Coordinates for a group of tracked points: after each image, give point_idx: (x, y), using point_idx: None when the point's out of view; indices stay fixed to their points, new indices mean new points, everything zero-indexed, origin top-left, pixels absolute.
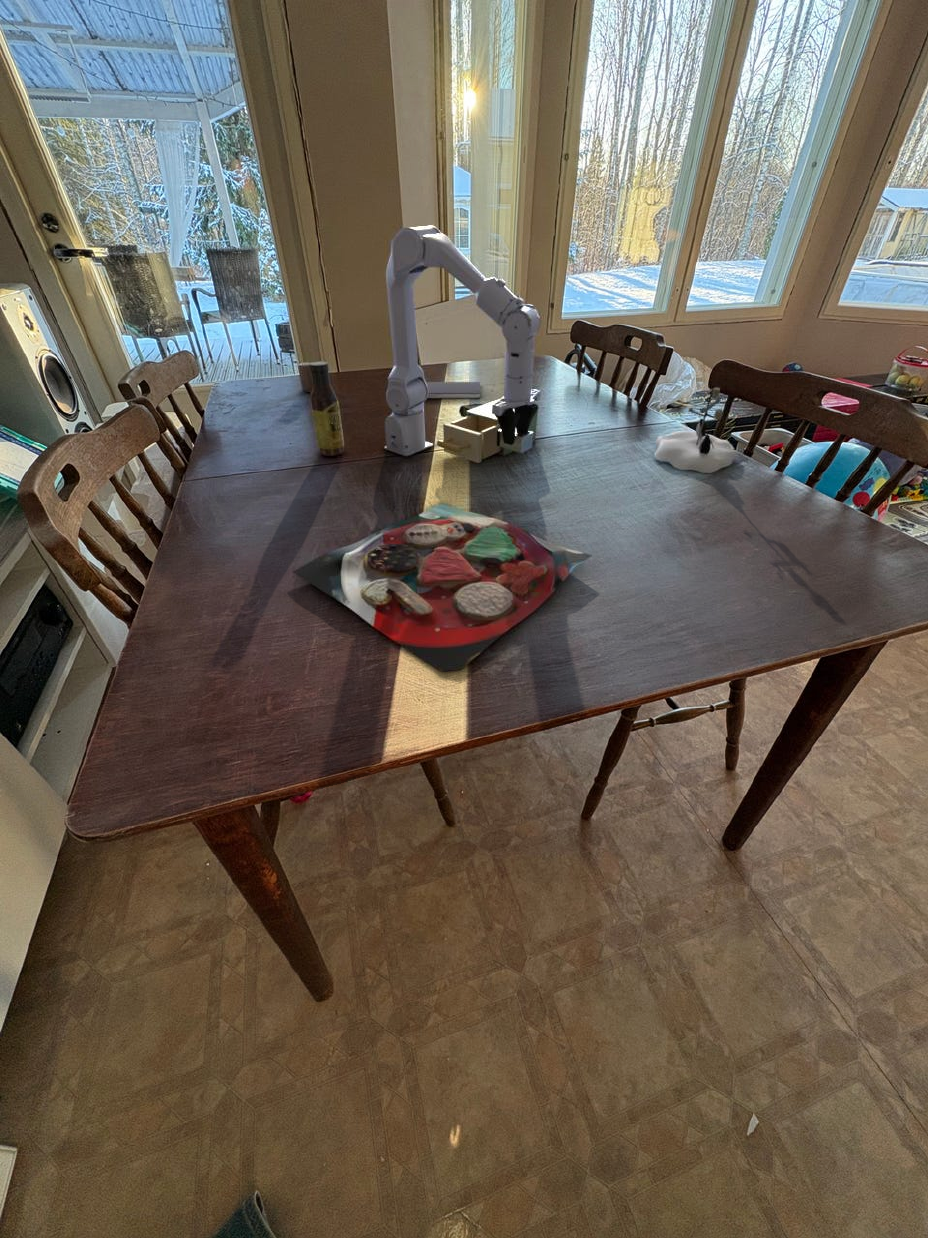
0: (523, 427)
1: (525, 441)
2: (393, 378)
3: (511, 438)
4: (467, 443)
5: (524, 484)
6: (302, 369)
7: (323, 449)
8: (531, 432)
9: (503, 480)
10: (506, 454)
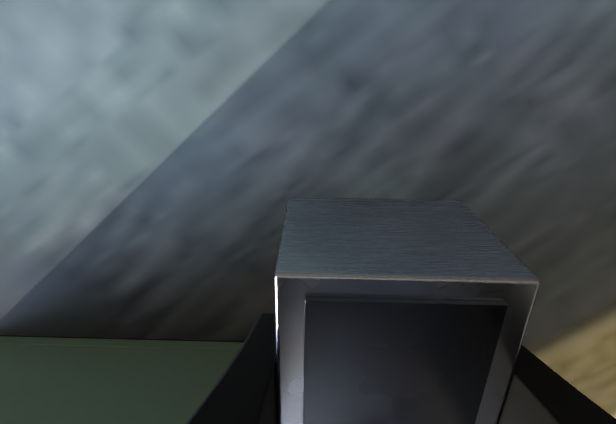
0: (270, 420)
1: (431, 240)
2: None
3: (540, 362)
4: None
5: (565, 18)
6: None
7: None
8: (302, 286)
9: (565, 165)
10: (243, 342)
